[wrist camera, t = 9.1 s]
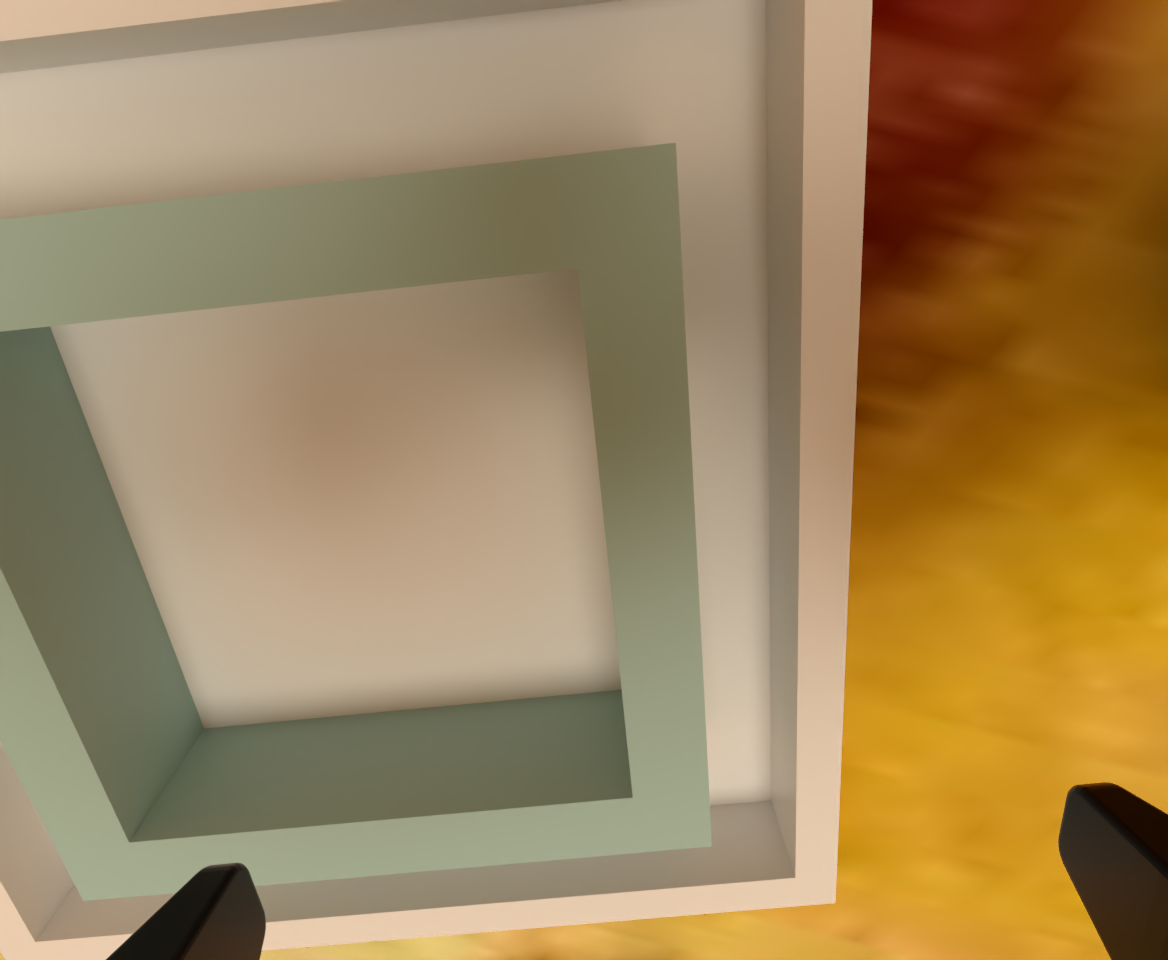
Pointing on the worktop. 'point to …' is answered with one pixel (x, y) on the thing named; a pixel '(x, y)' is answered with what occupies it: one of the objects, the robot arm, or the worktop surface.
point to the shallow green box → (373, 740)
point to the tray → (466, 411)
